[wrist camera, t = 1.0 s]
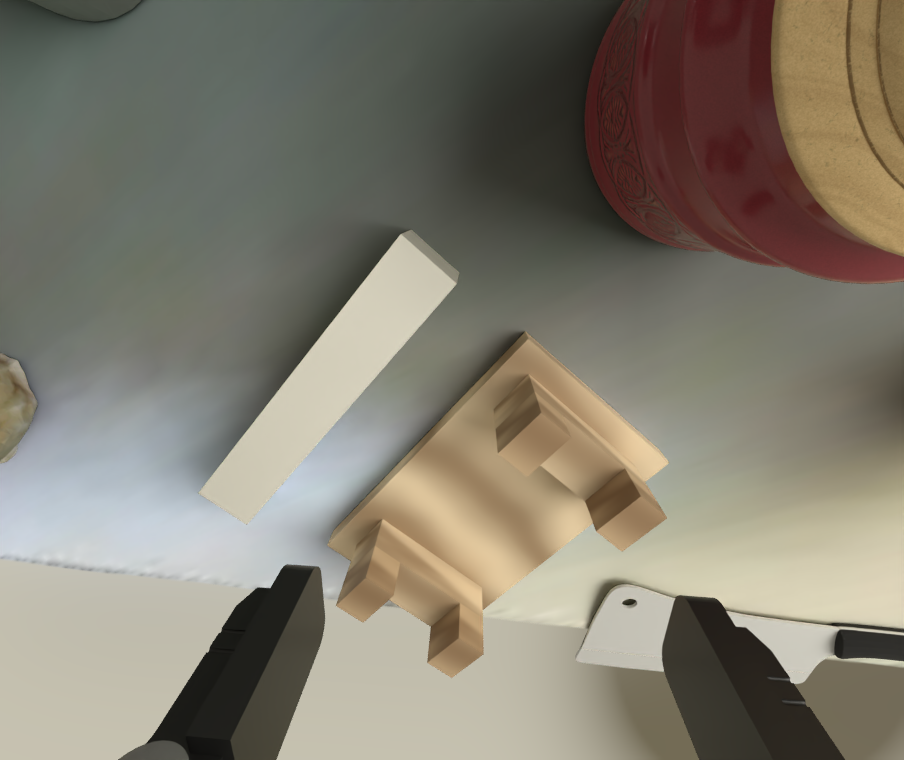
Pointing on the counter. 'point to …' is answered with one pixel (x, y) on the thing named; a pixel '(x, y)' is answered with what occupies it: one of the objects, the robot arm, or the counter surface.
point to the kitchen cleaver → (793, 643)
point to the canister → (757, 130)
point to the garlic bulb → (13, 406)
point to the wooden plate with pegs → (495, 500)
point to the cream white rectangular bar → (333, 374)
